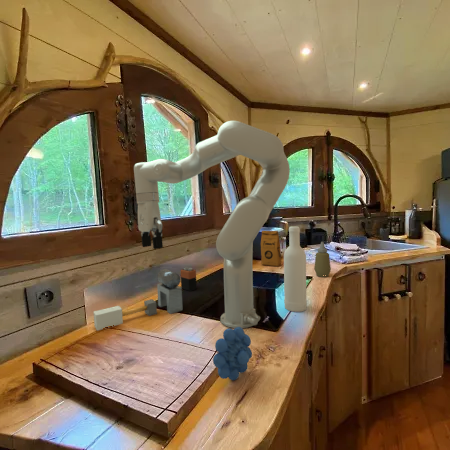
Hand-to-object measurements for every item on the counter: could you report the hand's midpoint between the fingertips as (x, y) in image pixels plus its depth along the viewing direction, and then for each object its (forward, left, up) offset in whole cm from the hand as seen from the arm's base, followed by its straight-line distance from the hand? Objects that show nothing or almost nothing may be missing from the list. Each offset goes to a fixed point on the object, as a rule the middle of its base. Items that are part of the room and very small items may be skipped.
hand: (152, 247), depth 93 cm
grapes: (-46, 0, -25) cm, 53 cm away
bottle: (-28, -42, -25) cm, 57 cm away
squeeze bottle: (-10, -87, -25) cm, 91 cm away
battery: (+19, -24, -25) cm, 39 cm away
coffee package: (+26, -87, -25) cm, 94 cm away
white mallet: (+3, +9, -25) cm, 26 cm away
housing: (+3, -7, -25) cm, 26 cm away
